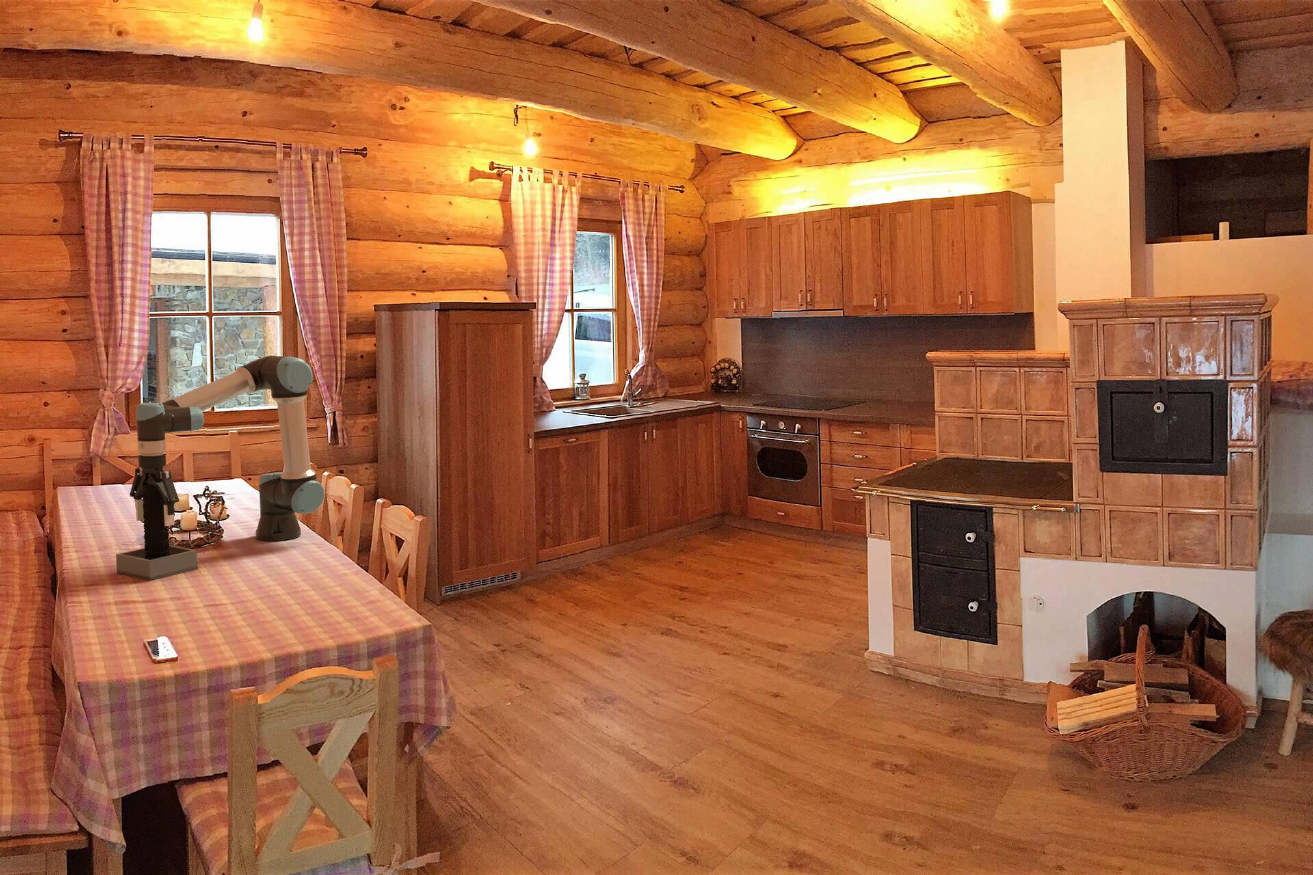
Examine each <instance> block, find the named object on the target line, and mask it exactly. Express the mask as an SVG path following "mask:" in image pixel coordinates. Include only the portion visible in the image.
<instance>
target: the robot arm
mask: <svg viewBox="0 0 1313 875" xmlns="http://www.w3.org/2000/svg"><path fill="white" fill-rule="evenodd" d="M313 376H314V375H313V371H312V368H311V367H310V365H309V364H308V363H307V362H306V361H305V360H304V359H302V358H298V357H295V356H289V355H287V356H286V355H285V356H284V355H281V356H280V355H266V356H262V357H261V358H258V359H256V360H253V361H251V362H247V363H245V364H244V365H241V366H239V367H237V368H236V370H235V372H233V373H230V374H227V375H225V376H223V377H220V378H219V379H216V380H214V381H212V382H209V383H206V384H204V385H202V386H200V387H197V388H194V389H192V390H190V391H188V392H185V393H182V394H180V395H178V396H176V397H174V398H171V399H169V400H166V401H163V402H143V403H139V404H137V405H136V408H135V410H136V411H135V421H136V423H135V424H136V434H137V452H138V454H139V455H138V457H137V459H138V460H137V461H138V467H136V468H135V470H134V477H133V481H132V485H131V488H130V492H129V497H131V498H133V500H134V503H135V505H134V507H135V514H136V515H135V518H136V521H137V522H140V521H144V518H143V513H144V512H143V510H144V509H143V501H142V500H143V497H142V492H143V489H142V486H145V485H149V484H151V485H154V486H155V487H157V488H158V490H159V492H160V494H161V496H162V497H163V499H164V501H165V504H164V518H165V526H168V527H169V526H174V525H175V524H176V523H175V504H176V503H179V502H180V497H179V495H178V492H177V490H176V486H175V484H174V481H173V479H172V472H171V471H170V470H168V471H167V470H166V471H164V467H166V466H167V454H166V450H167V449H166V448H167V447H166V434H171V433H182V432H183V433H184V432H190V433H191V432H193V431H194V432H195V431H199V430H201V429H202V428H203V426H204V422H205V417H204V413H203V412H204V411H207V410H210V409H211V408H214V407H215V406H218V405H220V404H223V403H225V402H227V401H229V400H232V399H234V398H236V397H238V396H241V395H243V394H246V393H247V394H253V393H255V392H258V391H263V390H270V393H271V394H270V395H271V399H272V400H273V401H275V402H276V405H277V414H278V424H279V432H280V433H279V434H280V442H281V443H280V444H281V450H282V460H283V468H284V469H283V471H278V472H271V473H264V474H261V475H260V476H259V478H258V480H259V481H258V487H259V488H258V492H259V495H258V496H259V510H260V511H259V515H260V516H259V519H258V522H257V523H258V524H257V527H256V530H255V539H256V540H259V541H267V542H277V541H280V542H281V541H286V540H285V539H289V540H293V539H292V538H294V539H296V538H295V537H297V538H300V537H301V536H302V529H301V526H300V524H299V521H298V518H297V515H296V514H308V515H309V514H312V513H314V512H316V511H317V510H318V509H319V508H320V507H321V505H323V503H324V500H325V487H324V486H323V485H322V484H321V483H320V482H319V481H317V472H316V471H315V470H314V469H312V467H311V465H312V464H311V457H310V448H309V438H308V429H307V419H306V418H307V417H306V410H305V402H304V401H305V399H306V398H307V397H308V396H309V395H308V394H309V393H308V390H309V388H310V386H311V385H312V383H313V378H314V377H313ZM300 535H301V536H300Z"/></svg>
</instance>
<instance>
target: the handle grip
mask: <svg viewBox="0 0 1313 875" xmlns="http://www.w3.org/2000/svg"><path fill="white" fill-rule="evenodd" d="M142 489H143V492H142V497H143V498H142V499H143V500H142V501H143V509H144V510H143V512H144V513H143V518H144V520H142V522H143V533H144V534H143V538H144V539H143V540H144V541H143V542H144V547H143V548H145V553H146V555H145V559H148V560H152V559H157V558H161V557H166V556H170V554H169V545H170V542H169V541H170V539H169V537H170V533H169V526H165V518H164V504H165V501H164V499H163V497H162V496H161V494H160V492H159V490H158V488H157V487H155V486H154V485H151V484H149V485H145V486H142Z"/></svg>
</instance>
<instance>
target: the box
mask: <svg viewBox="0 0 1313 875" xmlns="http://www.w3.org/2000/svg"><path fill="white" fill-rule="evenodd" d="M169 554H170V556H166V557H161V558H157V559H152V560H148V559H145V555H146V553H145V548H144V547H143V548H139V549H138V548H137V549H134V550H130V551H126V552H125V551H124V552H119V553H115V559H116V560H115V564H116V574H118V575H124V576H128V577H130V578H131V577H133V578H137V579H141V580H145V581H150V582H151V581H156V580H159V579H164V578H167V577H172V576H175V575H180V574H183V573H187V572H190V571H191V572H192V571H196V570H198V569H199V568H198V565H199V564H198V550H197V549H192V548H187V547H183V546H176V545H171V544H169Z"/></svg>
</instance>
